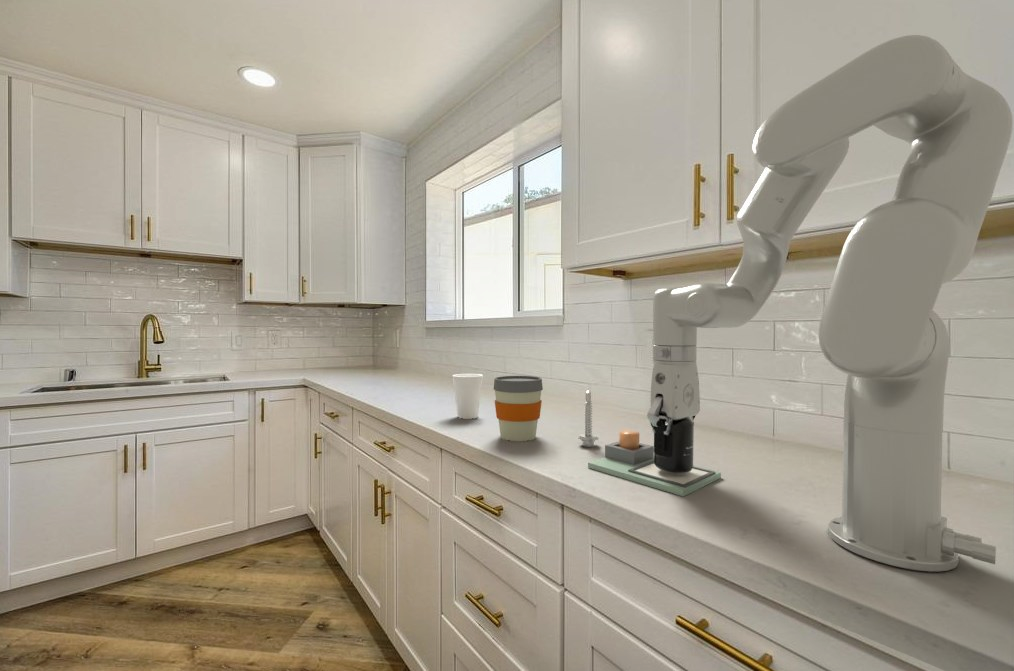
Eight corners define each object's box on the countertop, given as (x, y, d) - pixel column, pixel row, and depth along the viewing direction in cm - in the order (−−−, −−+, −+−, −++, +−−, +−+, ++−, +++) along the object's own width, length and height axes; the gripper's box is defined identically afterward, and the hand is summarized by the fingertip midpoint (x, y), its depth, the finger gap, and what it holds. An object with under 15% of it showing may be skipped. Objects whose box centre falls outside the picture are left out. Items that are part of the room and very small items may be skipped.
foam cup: (471, 412, 146) (471, 373, 145) (489, 417, 138) (488, 375, 138) (447, 416, 140) (446, 375, 139) (463, 421, 132) (463, 377, 132)
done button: (643, 452, 92) (643, 432, 92) (632, 455, 89) (632, 436, 89) (626, 448, 95) (626, 429, 95) (615, 451, 92) (615, 432, 92)
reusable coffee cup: (486, 433, 117) (486, 376, 117) (529, 429, 122) (529, 374, 122) (504, 445, 105) (504, 382, 105) (551, 440, 110) (551, 379, 110)
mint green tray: (720, 477, 83) (721, 459, 83) (683, 496, 74) (683, 475, 74) (628, 454, 98) (628, 438, 98) (587, 467, 89) (588, 450, 89)
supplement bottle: (697, 475, 78) (697, 407, 78) (656, 472, 80) (656, 405, 80) (689, 463, 85) (689, 400, 85) (652, 461, 87) (652, 399, 86)
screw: (579, 448, 103) (576, 442, 108) (600, 448, 103) (596, 442, 108) (579, 392, 103) (576, 389, 107) (600, 392, 103) (596, 389, 107)
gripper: (668, 358, 74) (667, 466, 74) (716, 354, 85) (715, 447, 85) (629, 356, 79) (628, 456, 80) (679, 352, 91) (678, 439, 91)
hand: (673, 450), depth 82 cm, fingers closed on supplement bottle, 6 cm apart
